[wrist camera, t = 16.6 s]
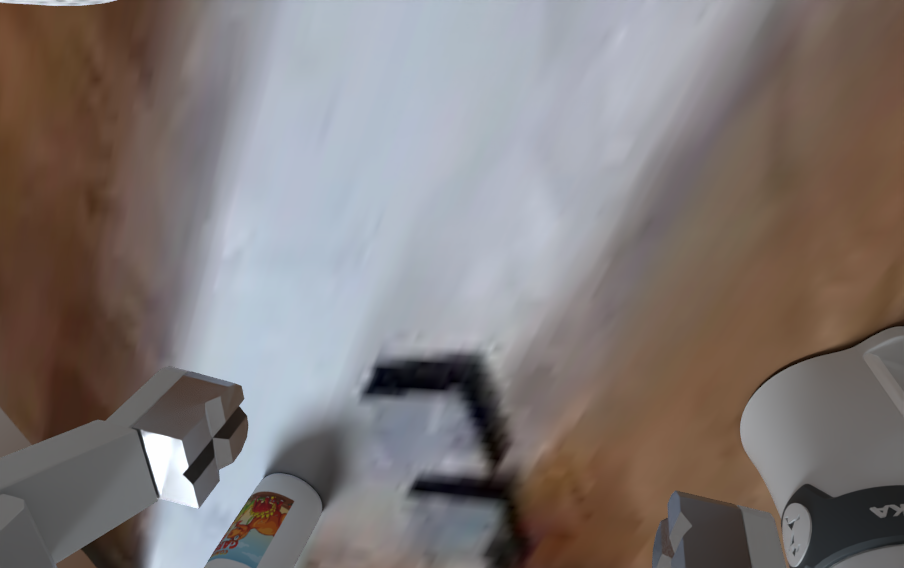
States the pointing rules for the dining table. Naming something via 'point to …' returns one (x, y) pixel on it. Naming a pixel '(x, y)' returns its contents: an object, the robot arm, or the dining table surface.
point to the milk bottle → (270, 526)
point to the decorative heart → (57, 2)
